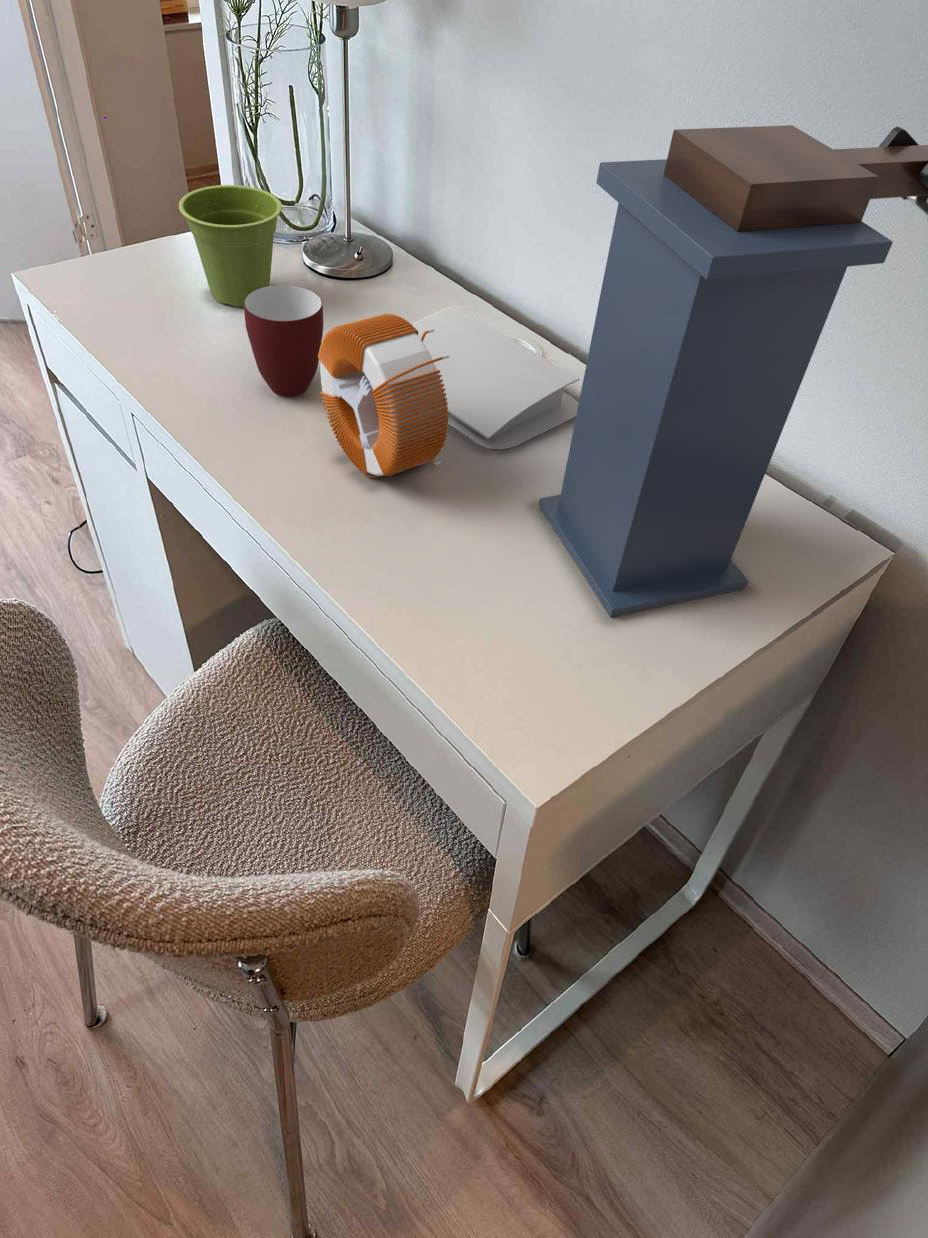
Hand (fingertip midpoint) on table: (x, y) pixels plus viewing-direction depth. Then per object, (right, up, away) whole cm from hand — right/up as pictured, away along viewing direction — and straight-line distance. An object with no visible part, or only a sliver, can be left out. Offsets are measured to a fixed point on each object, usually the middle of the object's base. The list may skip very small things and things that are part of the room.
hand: (910, 152), depth 64 cm
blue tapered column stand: (-15, -27, +21) cm, 37 cm away
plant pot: (-61, +8, +49) cm, 78 cm away
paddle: (-5, -3, 0) cm, 6 cm away
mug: (-52, -7, +36) cm, 64 cm away
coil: (-41, -17, +27) cm, 52 cm away
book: (-31, -7, +38) cm, 50 cm away
